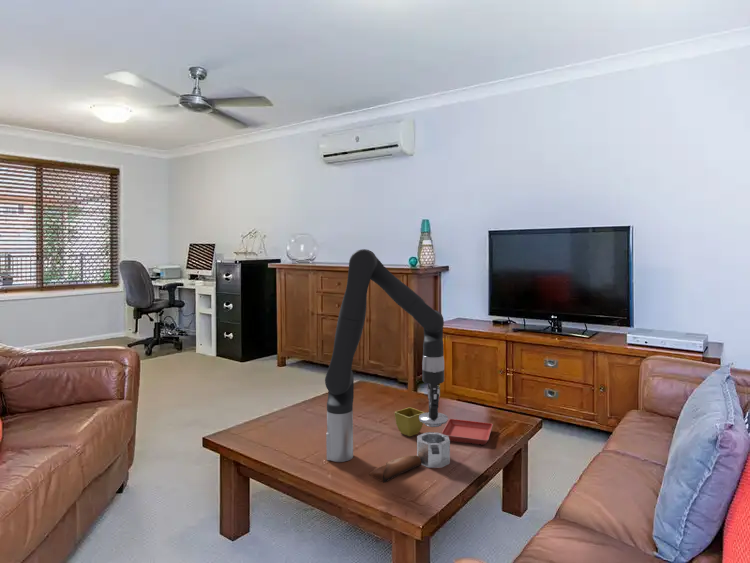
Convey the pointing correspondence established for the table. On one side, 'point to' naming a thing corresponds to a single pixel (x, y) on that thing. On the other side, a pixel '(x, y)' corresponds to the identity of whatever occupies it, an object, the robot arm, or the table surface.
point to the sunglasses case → (395, 468)
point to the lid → (430, 422)
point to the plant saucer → (467, 431)
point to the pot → (433, 449)
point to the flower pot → (408, 421)
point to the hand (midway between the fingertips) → (433, 416)
